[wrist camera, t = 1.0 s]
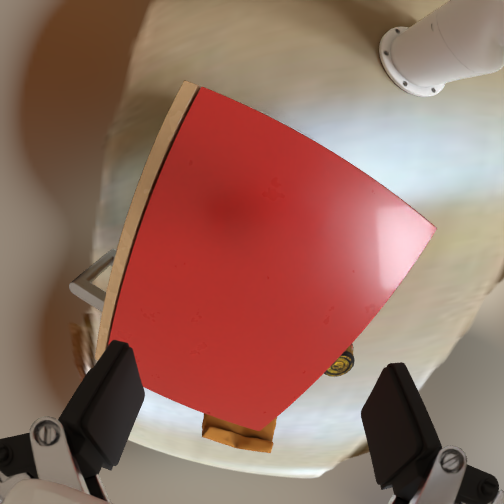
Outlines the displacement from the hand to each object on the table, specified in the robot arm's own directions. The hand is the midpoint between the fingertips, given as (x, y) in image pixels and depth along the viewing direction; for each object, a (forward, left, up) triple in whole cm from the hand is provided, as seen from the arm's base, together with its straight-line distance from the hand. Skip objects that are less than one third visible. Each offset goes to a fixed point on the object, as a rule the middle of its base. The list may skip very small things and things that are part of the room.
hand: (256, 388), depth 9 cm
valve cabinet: (+5, 0, -34) cm, 35 cm away
